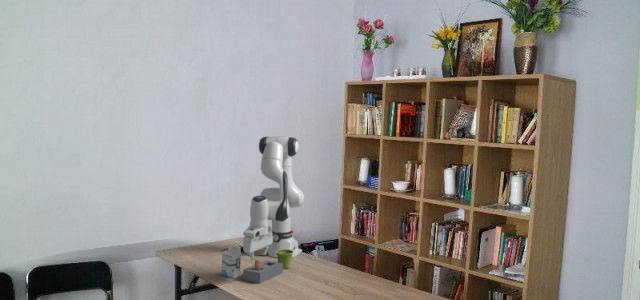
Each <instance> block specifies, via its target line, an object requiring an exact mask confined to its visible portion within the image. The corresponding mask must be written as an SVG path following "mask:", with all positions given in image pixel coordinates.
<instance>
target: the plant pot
mask: <svg viewBox="0 0 640 300" xmlns="http://www.w3.org/2000/svg"><path fill="white" fill-rule="evenodd" d="M276 253H277V257H276V259H277V262H280V263H283V270H286V269H291V263H292V258H293V257H292V255H293V251H292V250H288V249H280V250H277V251H276Z"/></svg>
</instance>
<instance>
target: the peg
mask: <svg viewBox="0 0 640 300" xmlns="http://www.w3.org/2000/svg"><path fill="white" fill-rule="evenodd" d="M261 262H262V260H261V259H255V260H254V265H255V270H258V271H260V270H261Z"/></svg>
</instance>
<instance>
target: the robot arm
mask: <svg viewBox="0 0 640 300" xmlns="http://www.w3.org/2000/svg"><path fill="white" fill-rule="evenodd" d="M258 151H259V152H260V154H261V155H262V157H261V162H260V170H261V171H260V172H261V173H262V175H264V176H265V177H266V178H267V179H269V180H272V181H274V183H275V182H276V183H277V184H278V185H279V187H267V188H263V189H262V191H261V192H260V195H256V196H254V197H252V198H251V201H250V209H249V210H250V211H249V215H250V221H249V226H247V228H246V229H245V230H244V231H243V236H244V237H243V239H242V240H243V243H242V247H243V252H244V253H246V254H248V255H249V258H250V261H255V260H256V256H255V255H254V254H255V252H256V251H259V250H261V249H262V250H261V256H266V255H267V254H268V256H269V257H272V258H277V253H276V251H277V250H280V249H288V250H292V251H293V255H292V258H296V257H297V256H298V255H299V254H300V253H302V251H303V249H301V248H300V247H299V243H298V241H297V240H296V238H294V237H293V234H295V229H293V230H292V229H291V227H292V219H291V218H292V217H291V216H290V214H291V208H292V209H294V208H300V207H302V205H303V204H304V202H305V194H304V192H303V191H302V190H301V189H300V188H299V187H298V186H297V185H296V184H295V182H294V178H293V160H292V159H293V157H294V156H296V155H297V154H298V151H299V142H298V140H297V138H296V137H293V136H289V137H288V136H281V135H279V136H262V137H261V138H260V139H259V142H258ZM269 221H271V226H269Z"/></svg>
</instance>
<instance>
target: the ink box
mask: <svg viewBox="0 0 640 300" xmlns="http://www.w3.org/2000/svg"><path fill="white" fill-rule="evenodd" d="M227 249H228V250H224V251H221V276H224V277H228V278H230V279H231V278H233V279H236V278H239V277H240V276H241V258H242V257H241V256H242V253H241V251H242V250H241V249H242V247H241V246H240V245H239V246H238V245H235V244H229V243H228V248H227Z"/></svg>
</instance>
